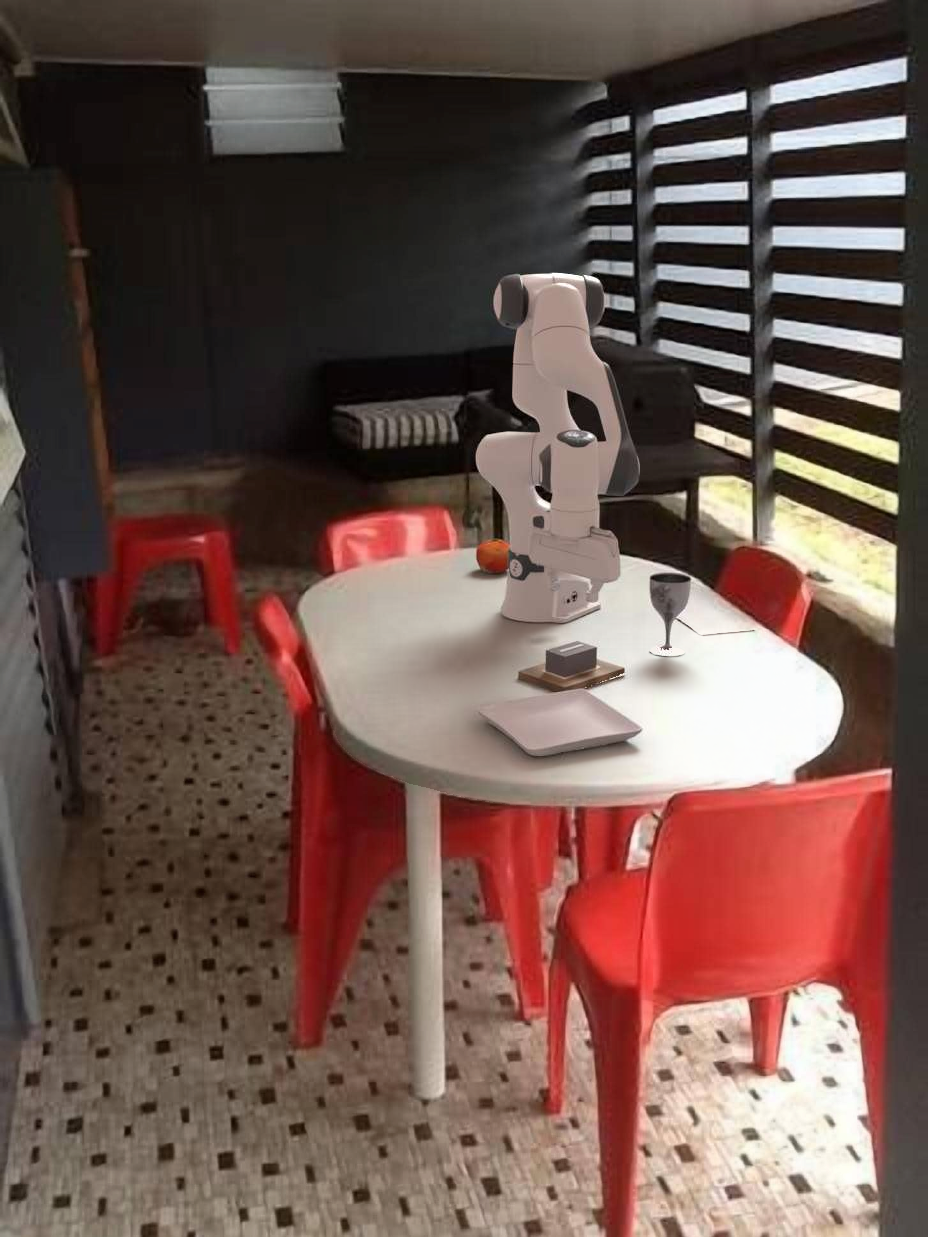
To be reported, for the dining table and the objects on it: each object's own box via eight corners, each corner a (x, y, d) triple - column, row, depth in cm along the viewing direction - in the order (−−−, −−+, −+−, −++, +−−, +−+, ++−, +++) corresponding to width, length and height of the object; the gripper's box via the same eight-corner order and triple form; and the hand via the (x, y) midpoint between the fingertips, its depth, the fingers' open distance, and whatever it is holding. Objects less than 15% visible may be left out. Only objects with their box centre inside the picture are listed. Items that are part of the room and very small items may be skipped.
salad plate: (529, 768, 215) (529, 748, 214) (473, 723, 233) (473, 704, 232) (645, 747, 223) (646, 727, 222) (582, 705, 241) (583, 687, 240)
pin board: (577, 660, 264) (578, 639, 263) (624, 675, 256) (625, 654, 254) (518, 678, 254) (518, 657, 253) (564, 695, 245) (565, 673, 244)
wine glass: (695, 651, 269) (699, 577, 265) (672, 660, 264) (675, 585, 260) (662, 642, 275) (665, 570, 270) (638, 651, 269) (641, 578, 265)
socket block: (576, 661, 259) (577, 640, 257) (596, 667, 255) (596, 646, 254) (545, 670, 253) (545, 649, 252) (564, 677, 250) (565, 655, 248)
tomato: (500, 578, 323) (501, 545, 320) (468, 572, 327) (468, 540, 325) (521, 569, 330) (521, 537, 328) (488, 564, 335) (488, 532, 332)
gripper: (629, 529, 241) (627, 604, 245) (547, 510, 255) (546, 581, 260) (605, 535, 237) (603, 612, 241) (522, 515, 251) (522, 587, 256)
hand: (573, 595), depth 250 cm, fingers open, 8 cm apart
